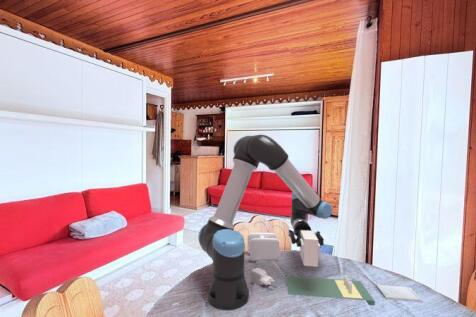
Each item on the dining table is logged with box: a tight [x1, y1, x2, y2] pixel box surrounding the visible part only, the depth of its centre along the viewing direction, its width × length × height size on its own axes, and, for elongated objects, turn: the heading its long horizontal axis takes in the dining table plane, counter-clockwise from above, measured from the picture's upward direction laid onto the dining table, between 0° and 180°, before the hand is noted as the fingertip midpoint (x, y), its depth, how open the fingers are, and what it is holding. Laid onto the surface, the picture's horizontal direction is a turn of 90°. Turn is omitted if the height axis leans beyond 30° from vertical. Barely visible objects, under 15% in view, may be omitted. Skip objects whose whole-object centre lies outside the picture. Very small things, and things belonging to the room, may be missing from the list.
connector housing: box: [299, 230, 319, 268], centre depth 92 cm, size 5×10×10 cm, turn 173°
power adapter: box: [250, 267, 279, 287], centre depth 94 cm, size 11×5×6 cm, turn 46°
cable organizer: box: [247, 232, 280, 263], centre depth 120 cm, size 15×11×12 cm
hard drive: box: [375, 284, 423, 303], centre depth 90 cm, size 2×8×12 cm
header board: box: [285, 274, 376, 306], centre depth 91 cm, size 30×13×6 cm, turn 83°
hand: (311, 249), depth 87 cm, fingers closed on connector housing, 5 cm apart
